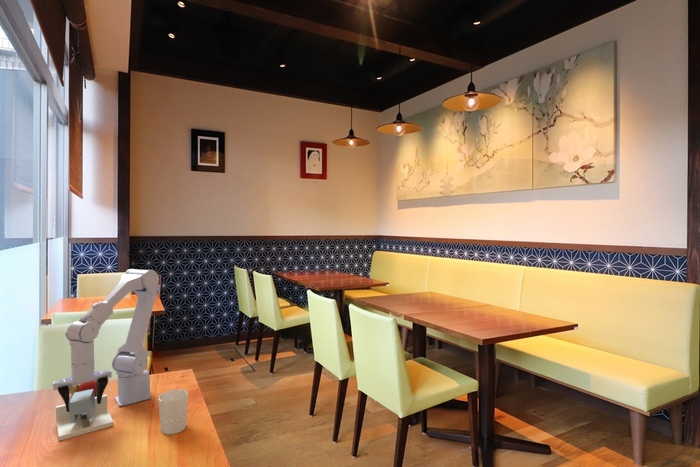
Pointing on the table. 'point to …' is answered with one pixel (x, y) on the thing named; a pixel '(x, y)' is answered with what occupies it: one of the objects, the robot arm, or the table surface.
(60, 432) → the board
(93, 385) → the kendama
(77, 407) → the block
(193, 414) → the table surface
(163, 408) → the white cup
